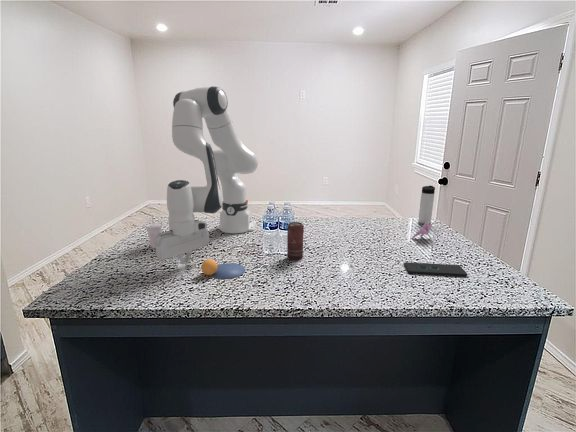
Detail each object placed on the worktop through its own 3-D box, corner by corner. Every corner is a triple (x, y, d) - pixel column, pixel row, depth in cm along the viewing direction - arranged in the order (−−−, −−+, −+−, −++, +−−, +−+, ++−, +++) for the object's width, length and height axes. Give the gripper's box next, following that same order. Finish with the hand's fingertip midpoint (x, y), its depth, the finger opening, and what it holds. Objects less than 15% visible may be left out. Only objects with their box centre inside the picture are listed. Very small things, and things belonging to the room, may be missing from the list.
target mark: (216, 262, 128) (216, 261, 128) (249, 265, 126) (249, 264, 126) (202, 277, 116) (202, 276, 116) (238, 280, 114) (238, 280, 114)
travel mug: (432, 223, 181) (437, 186, 176) (427, 225, 176) (432, 188, 171) (421, 220, 185) (425, 184, 180) (416, 223, 181) (420, 186, 175)
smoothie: (146, 249, 140) (142, 217, 136) (149, 244, 146) (146, 213, 142) (162, 249, 141) (159, 216, 137) (165, 243, 147) (162, 212, 143)
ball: (216, 276, 120) (204, 268, 121) (223, 264, 119) (211, 255, 120) (207, 279, 114) (195, 270, 116) (214, 266, 113) (202, 257, 115)
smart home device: (403, 261, 127) (459, 264, 125) (403, 265, 128) (458, 268, 126) (408, 270, 120) (468, 274, 117) (408, 275, 120) (467, 278, 118)
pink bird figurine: (435, 239, 160) (427, 220, 161) (448, 237, 148) (439, 216, 149) (412, 247, 159) (404, 228, 160) (423, 246, 147) (415, 226, 148)
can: (302, 261, 130) (302, 226, 126) (285, 260, 131) (286, 225, 127) (304, 255, 136) (305, 222, 132) (289, 254, 137) (289, 221, 133)
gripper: (160, 236, 110) (164, 275, 114) (210, 222, 125) (212, 257, 129) (150, 232, 114) (154, 270, 117) (200, 219, 129) (202, 253, 133)
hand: (185, 263), depth 123 cm, fingers closed
